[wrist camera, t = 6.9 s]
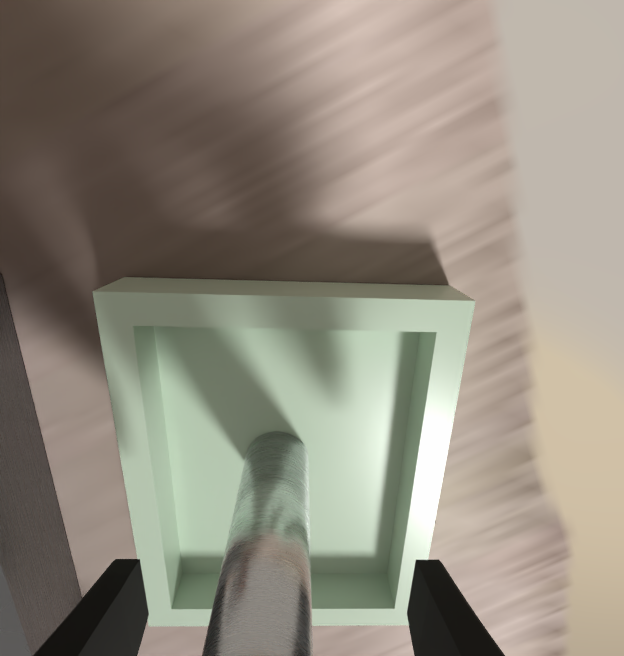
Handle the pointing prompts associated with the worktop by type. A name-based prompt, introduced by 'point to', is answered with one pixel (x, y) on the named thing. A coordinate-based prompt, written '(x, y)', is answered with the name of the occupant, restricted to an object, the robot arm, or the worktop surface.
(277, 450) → the hitch pin
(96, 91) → the worktop surface
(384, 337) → the tray
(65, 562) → the drawbar
